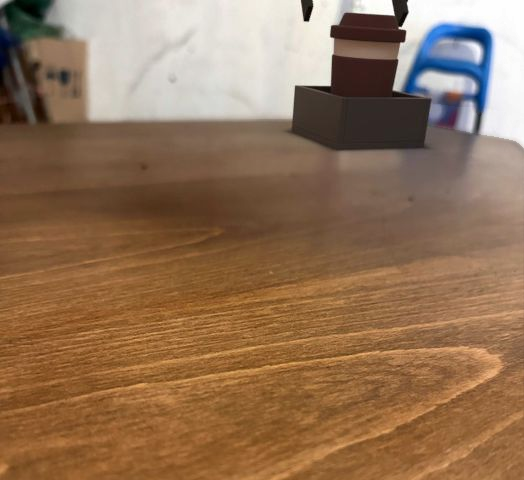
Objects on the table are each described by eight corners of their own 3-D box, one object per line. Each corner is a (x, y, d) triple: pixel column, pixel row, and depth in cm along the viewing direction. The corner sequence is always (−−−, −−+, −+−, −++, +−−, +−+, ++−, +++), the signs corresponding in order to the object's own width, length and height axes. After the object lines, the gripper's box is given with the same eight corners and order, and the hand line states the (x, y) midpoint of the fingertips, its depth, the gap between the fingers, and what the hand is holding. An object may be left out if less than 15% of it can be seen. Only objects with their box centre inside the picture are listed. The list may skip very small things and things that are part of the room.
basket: (371, 131, 102) (376, 86, 99) (423, 148, 91) (431, 98, 88) (291, 133, 97) (294, 85, 94) (336, 151, 86) (342, 98, 83)
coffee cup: (307, 131, 92) (318, 10, 85) (342, 125, 100) (354, 12, 93) (372, 142, 87) (388, 15, 81) (403, 134, 95) (420, 17, 88)
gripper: (407, -70, 104) (429, 41, 98) (249, -83, 99) (262, 32, 93) (426, -116, 97) (452, 0, 91) (257, -133, 92) (272, -12, 86)
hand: (356, 17), depth 92 cm, fingers open, 13 cm apart
